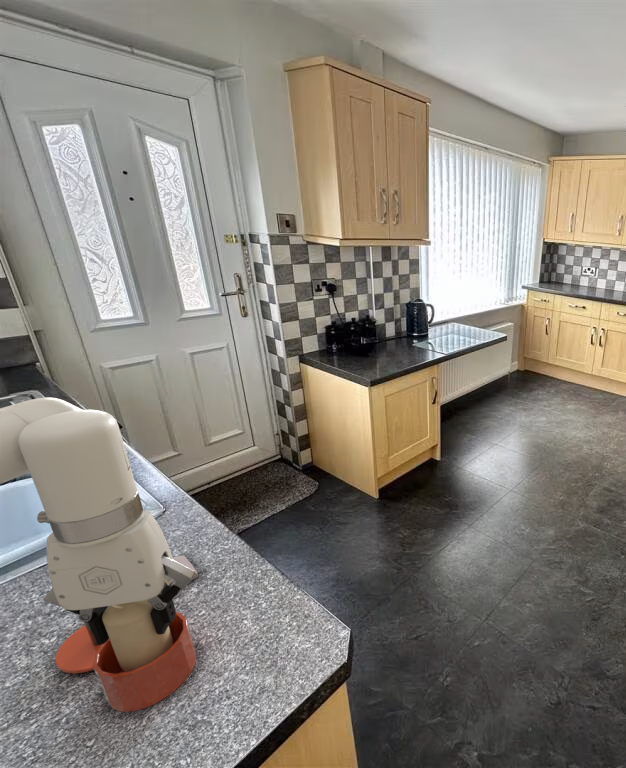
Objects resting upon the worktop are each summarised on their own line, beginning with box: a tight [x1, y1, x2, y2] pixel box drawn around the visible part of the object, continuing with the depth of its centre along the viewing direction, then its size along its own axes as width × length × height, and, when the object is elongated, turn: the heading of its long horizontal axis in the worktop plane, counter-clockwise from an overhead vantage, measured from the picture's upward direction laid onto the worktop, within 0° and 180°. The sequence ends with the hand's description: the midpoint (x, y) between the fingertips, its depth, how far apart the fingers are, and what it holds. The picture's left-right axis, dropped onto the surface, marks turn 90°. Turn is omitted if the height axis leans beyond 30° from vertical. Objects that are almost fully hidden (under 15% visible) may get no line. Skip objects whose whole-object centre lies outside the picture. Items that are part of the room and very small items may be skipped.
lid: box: [54, 621, 102, 674], centre depth 61 cm, size 10×10×6 cm
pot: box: [93, 611, 197, 713], centre depth 57 cm, size 9×9×6 cm
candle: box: [102, 600, 173, 672], centre depth 55 cm, size 6×6×10 cm
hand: (137, 628), depth 55 cm, fingers closed on candle, 5 cm apart
